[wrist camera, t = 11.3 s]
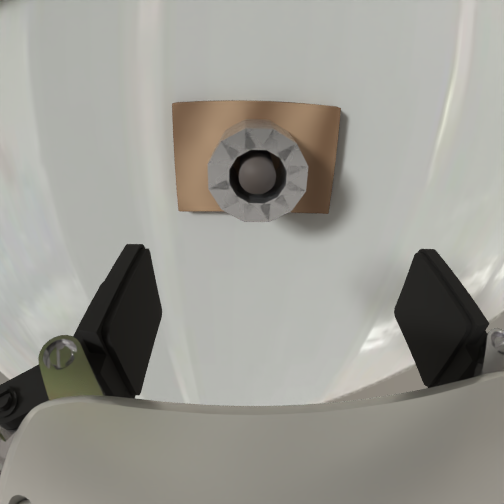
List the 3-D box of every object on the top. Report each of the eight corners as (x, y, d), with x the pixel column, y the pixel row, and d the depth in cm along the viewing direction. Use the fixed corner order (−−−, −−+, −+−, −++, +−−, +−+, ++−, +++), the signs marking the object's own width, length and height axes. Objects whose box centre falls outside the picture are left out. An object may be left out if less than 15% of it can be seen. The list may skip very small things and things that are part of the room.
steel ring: (299, 121, 23) (311, 131, 19) (293, 197, 27) (302, 222, 23) (214, 118, 23) (206, 128, 19) (215, 196, 27) (209, 221, 23)
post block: (336, 106, 24) (361, 116, 18) (325, 208, 29) (342, 240, 24) (175, 102, 23) (155, 110, 18) (181, 206, 29) (166, 238, 23)
